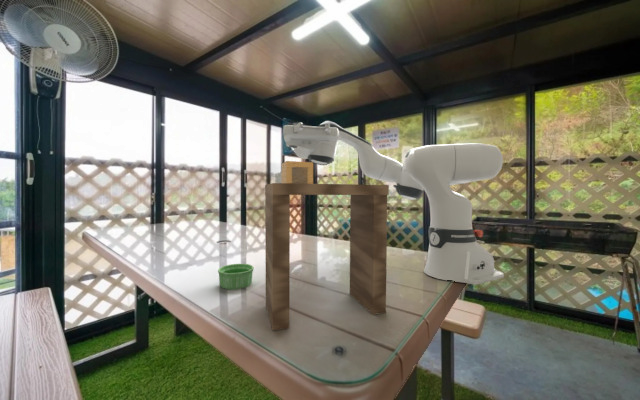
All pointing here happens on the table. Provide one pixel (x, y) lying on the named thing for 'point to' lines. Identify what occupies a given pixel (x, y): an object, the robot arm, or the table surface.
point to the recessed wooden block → (295, 173)
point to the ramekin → (235, 276)
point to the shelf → (364, 244)
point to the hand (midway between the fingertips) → (314, 125)
